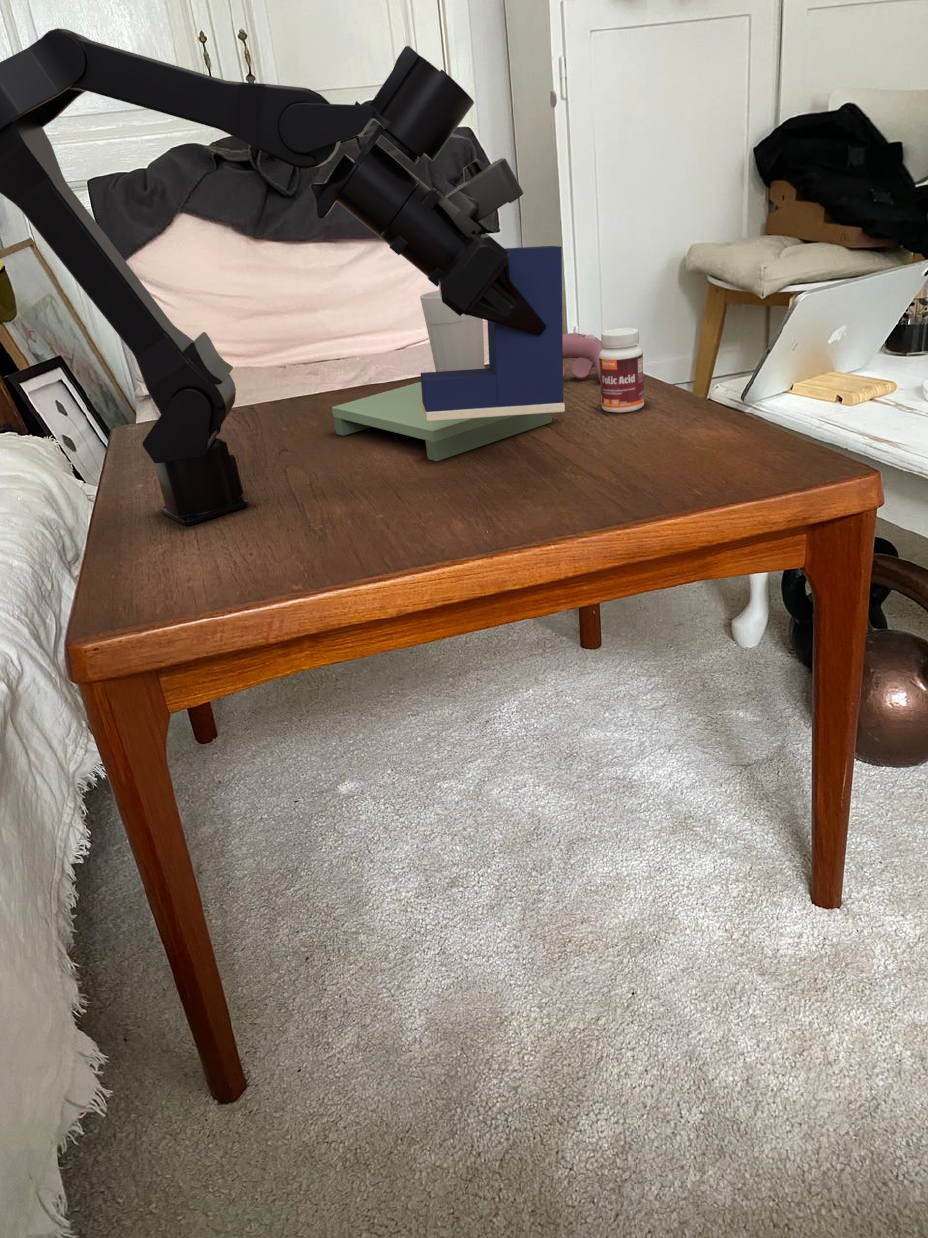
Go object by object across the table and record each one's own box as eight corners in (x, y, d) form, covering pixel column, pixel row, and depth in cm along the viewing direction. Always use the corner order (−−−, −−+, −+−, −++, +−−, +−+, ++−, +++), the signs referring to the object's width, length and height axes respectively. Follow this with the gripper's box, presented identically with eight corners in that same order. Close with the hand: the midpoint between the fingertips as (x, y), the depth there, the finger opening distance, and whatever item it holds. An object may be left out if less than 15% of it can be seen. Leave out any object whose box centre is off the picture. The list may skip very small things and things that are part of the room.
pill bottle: (598, 414, 105) (594, 337, 101) (605, 402, 109) (601, 328, 106) (641, 412, 104) (638, 334, 100) (647, 401, 108) (644, 325, 104)
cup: (425, 386, 128) (413, 294, 123) (481, 376, 130) (471, 284, 124) (442, 397, 121) (429, 300, 116) (500, 386, 123) (490, 289, 117)
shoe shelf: (436, 461, 96) (432, 430, 95) (336, 433, 111) (331, 406, 110) (552, 422, 105) (550, 393, 103) (444, 401, 119) (441, 375, 118)
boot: (426, 421, 85) (415, 254, 80) (422, 410, 90) (412, 253, 85) (565, 411, 86) (563, 246, 81) (553, 401, 91) (551, 245, 86)
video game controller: (609, 388, 121) (605, 334, 121) (609, 379, 117) (605, 323, 117) (531, 396, 123) (528, 342, 123) (529, 387, 118) (525, 331, 118)
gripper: (466, 122, 70) (620, 261, 75) (452, 128, 87) (579, 242, 92) (376, 249, 73) (530, 374, 78) (379, 232, 90) (505, 336, 95)
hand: (538, 325), depth 86 cm, fingers closed on boot, 5 cm apart
